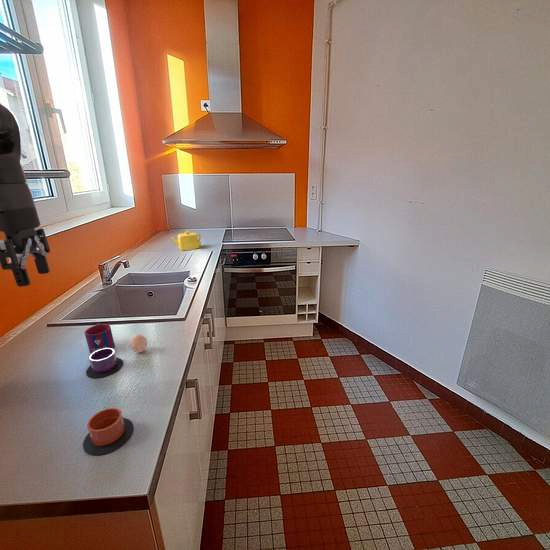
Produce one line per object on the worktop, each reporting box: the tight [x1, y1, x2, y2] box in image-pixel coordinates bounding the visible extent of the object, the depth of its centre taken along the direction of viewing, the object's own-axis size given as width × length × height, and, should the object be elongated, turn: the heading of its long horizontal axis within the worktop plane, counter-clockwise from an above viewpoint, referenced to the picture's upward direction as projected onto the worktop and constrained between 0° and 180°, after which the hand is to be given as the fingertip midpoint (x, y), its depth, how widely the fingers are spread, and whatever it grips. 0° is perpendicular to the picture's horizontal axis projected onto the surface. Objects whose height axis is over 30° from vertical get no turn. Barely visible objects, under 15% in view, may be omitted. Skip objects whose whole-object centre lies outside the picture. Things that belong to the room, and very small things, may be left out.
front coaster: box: [82, 417, 134, 457], centre depth 61 cm, size 9×9×1 cm
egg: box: [130, 333, 148, 354], centre depth 89 cm, size 4×4×6 cm
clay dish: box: [86, 407, 125, 446], centre depth 60 cm, size 6×6×4 cm
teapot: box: [170, 230, 202, 251], centre depth 209 cm, size 20×12×12 cm, turn 115°
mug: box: [84, 322, 116, 355], centre depth 92 cm, size 7×10×7 cm
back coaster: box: [85, 356, 124, 379], centre depth 82 cm, size 9×9×1 cm
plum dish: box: [88, 348, 117, 373], centre depth 82 cm, size 6×6×4 cm
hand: (34, 279), depth 68 cm, fingers open, 8 cm apart
